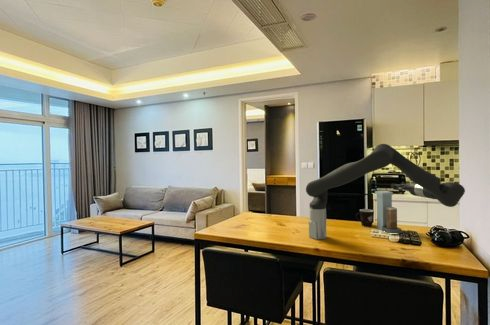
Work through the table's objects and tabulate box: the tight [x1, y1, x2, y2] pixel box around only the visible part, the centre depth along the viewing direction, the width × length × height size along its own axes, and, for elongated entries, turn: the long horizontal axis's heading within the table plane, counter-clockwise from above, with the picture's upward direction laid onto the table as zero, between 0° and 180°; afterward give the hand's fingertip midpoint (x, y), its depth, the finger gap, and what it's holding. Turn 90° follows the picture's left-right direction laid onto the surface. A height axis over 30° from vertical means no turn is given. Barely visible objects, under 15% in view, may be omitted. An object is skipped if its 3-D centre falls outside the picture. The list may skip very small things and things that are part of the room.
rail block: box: [386, 206, 398, 229], centre depth 160 cm, size 4×4×15 cm
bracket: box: [381, 226, 403, 234], centre depth 160 cm, size 8×7×3 cm
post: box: [374, 190, 394, 231], centre depth 166 cm, size 7×7×24 cm
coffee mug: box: [355, 208, 375, 228], centre depth 177 cm, size 12×9×10 cm
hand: (399, 185), depth 147 cm, fingers open, 8 cm apart
